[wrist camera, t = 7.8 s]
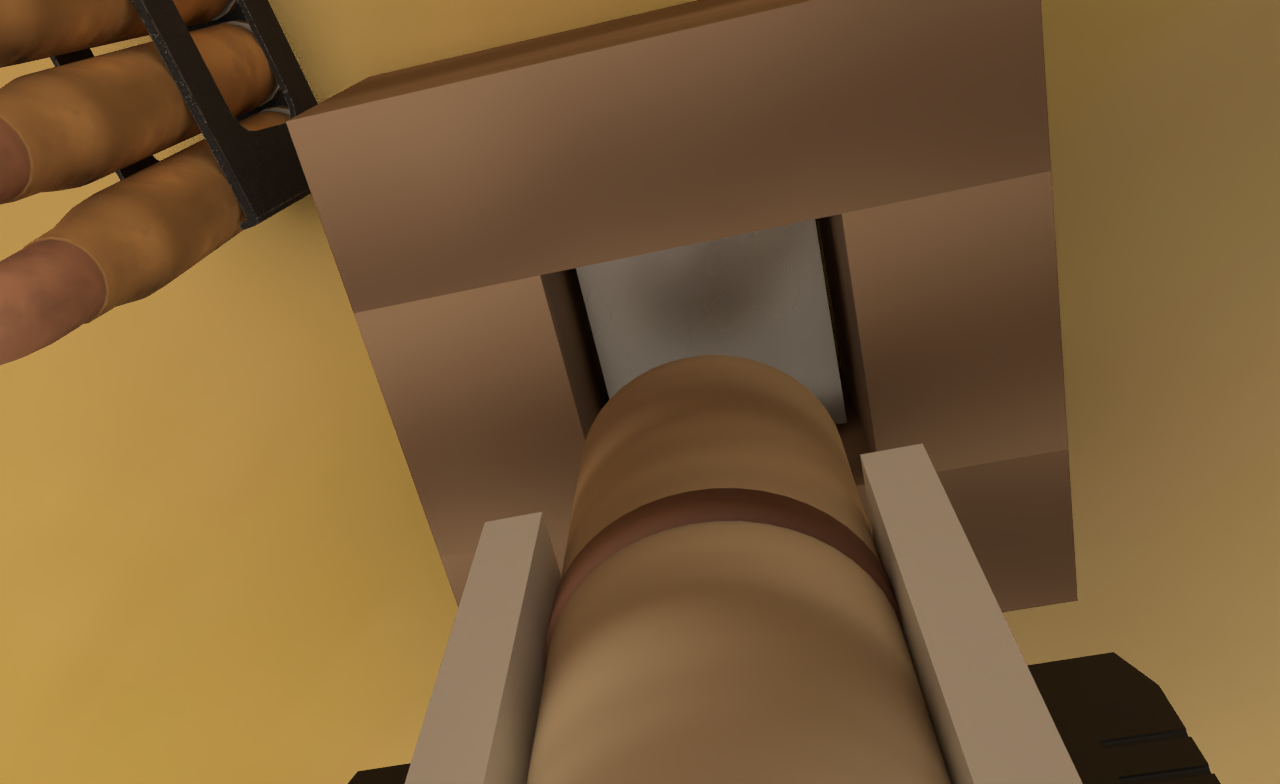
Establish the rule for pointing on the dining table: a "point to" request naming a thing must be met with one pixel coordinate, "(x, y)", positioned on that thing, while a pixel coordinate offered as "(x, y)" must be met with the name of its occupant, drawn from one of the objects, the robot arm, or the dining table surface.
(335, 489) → the dining table surface
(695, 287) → the platform
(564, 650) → the peg
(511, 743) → the robot arm
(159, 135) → the ammunition clip
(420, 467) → the socket block
